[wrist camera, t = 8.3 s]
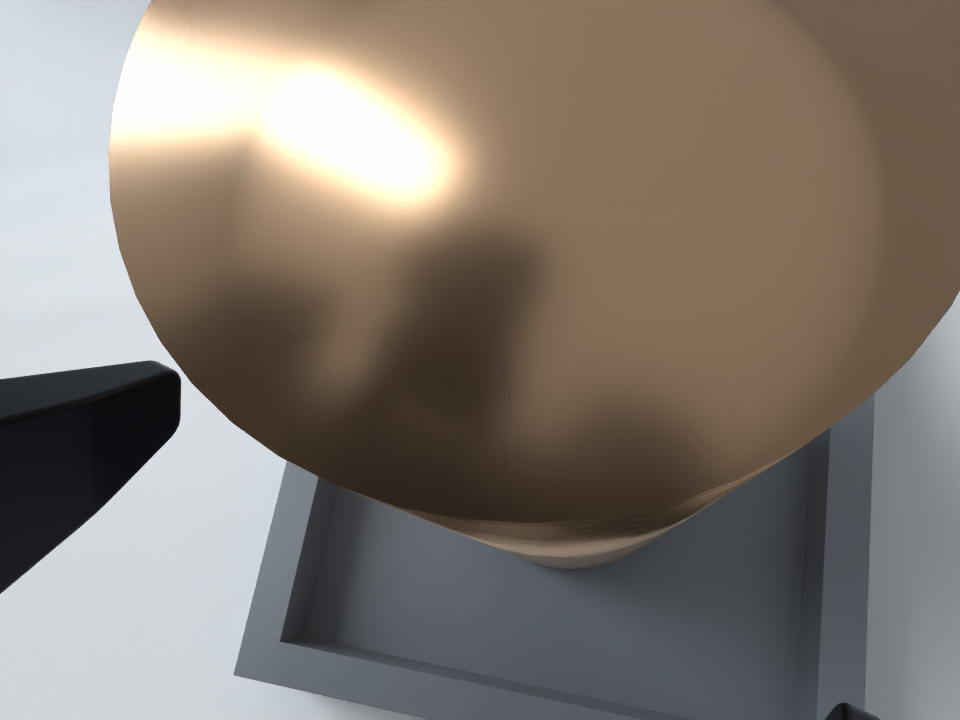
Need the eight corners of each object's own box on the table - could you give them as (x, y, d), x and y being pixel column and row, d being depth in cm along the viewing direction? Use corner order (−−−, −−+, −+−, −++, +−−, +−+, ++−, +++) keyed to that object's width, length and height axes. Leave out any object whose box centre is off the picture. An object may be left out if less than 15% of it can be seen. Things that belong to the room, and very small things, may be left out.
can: (575, 623, 16) (534, 771, 3) (406, 450, 17) (-39, 121, 5) (741, 443, 16) (1230, 7, 4) (564, 292, 18) (515, -350, 6)
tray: (824, 786, 15) (860, 816, 13) (272, 664, 17) (233, 675, 15) (848, 246, 18) (880, 206, 16) (382, 201, 20) (362, 161, 18)
